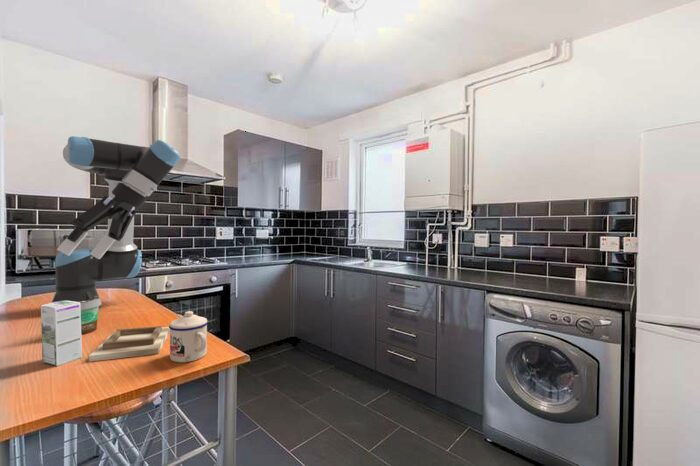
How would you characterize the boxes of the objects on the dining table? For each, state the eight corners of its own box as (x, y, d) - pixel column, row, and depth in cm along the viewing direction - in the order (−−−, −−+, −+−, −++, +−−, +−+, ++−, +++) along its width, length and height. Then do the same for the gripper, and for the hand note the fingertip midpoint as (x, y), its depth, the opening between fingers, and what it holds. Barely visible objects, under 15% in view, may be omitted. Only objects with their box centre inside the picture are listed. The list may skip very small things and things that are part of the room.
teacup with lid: (162, 357, 82) (162, 312, 82) (196, 346, 90) (196, 305, 89) (186, 370, 76) (186, 321, 75) (221, 357, 83) (221, 313, 83)
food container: (71, 340, 92) (71, 306, 92) (55, 338, 94) (54, 304, 93) (111, 326, 104) (111, 296, 104) (96, 325, 106) (96, 295, 105)
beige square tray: (113, 336, 96) (113, 326, 96) (170, 331, 101) (170, 322, 101) (89, 361, 79) (89, 349, 79) (158, 353, 84) (158, 342, 84)
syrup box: (83, 357, 81) (82, 301, 81) (55, 367, 76) (54, 307, 75) (68, 353, 83) (67, 299, 83) (40, 363, 78) (39, 304, 77)
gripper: (126, 184, 76) (62, 259, 71) (162, 207, 100) (116, 264, 95) (97, 166, 75) (30, 241, 70) (141, 194, 99) (93, 251, 94)
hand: (79, 254), depth 82 cm, fingers open, 13 cm apart
